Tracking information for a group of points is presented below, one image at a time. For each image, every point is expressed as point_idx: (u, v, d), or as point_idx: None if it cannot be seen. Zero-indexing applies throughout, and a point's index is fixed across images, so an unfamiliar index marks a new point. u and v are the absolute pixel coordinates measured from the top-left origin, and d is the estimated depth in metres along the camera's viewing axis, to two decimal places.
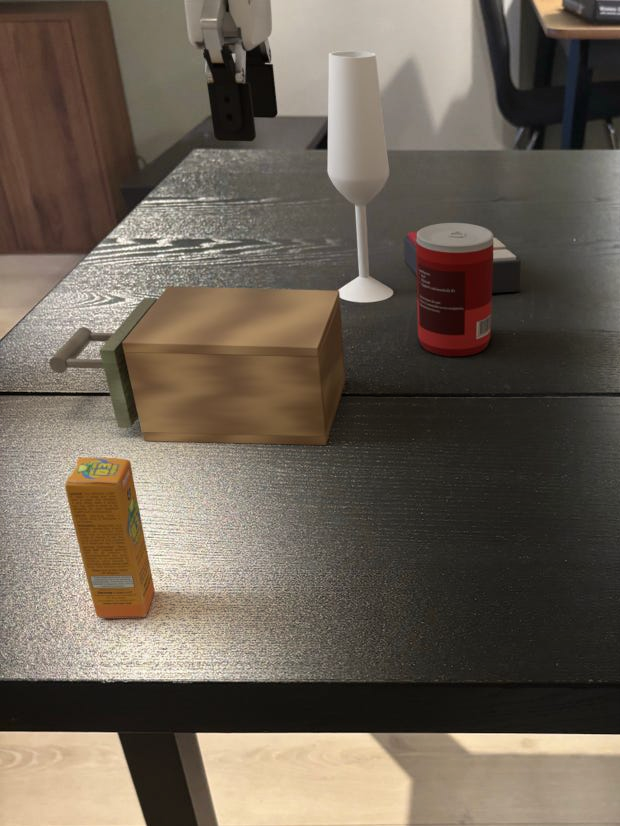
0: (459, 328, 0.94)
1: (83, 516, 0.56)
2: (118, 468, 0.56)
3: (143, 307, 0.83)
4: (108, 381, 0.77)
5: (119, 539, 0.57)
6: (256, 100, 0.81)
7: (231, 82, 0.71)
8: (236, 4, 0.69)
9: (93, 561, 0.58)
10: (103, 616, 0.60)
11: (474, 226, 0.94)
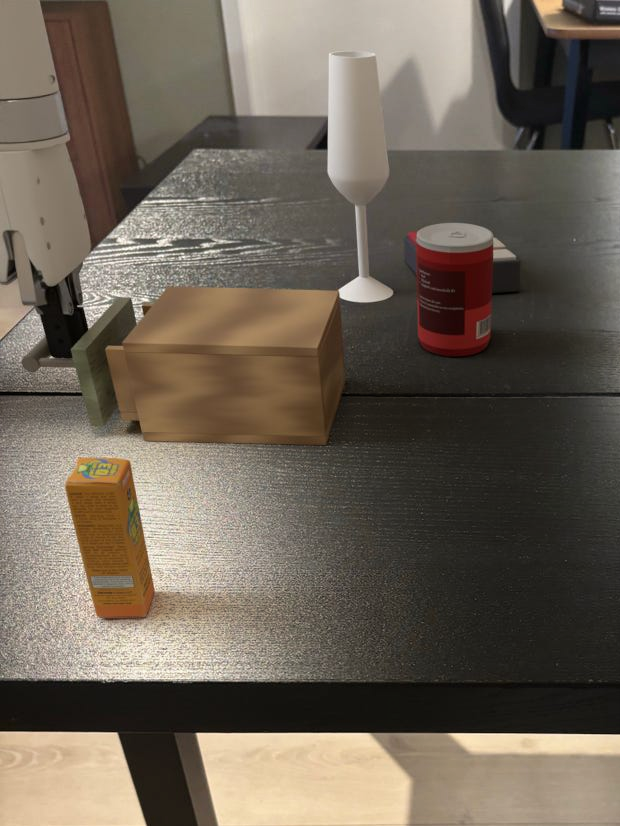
0: (459, 328, 0.94)
1: (83, 516, 0.56)
2: (118, 468, 0.56)
3: (117, 306, 0.83)
4: (80, 380, 0.77)
5: (119, 539, 0.57)
6: None
7: (59, 314, 0.78)
8: (34, 251, 0.72)
9: (93, 561, 0.58)
10: (103, 616, 0.60)
11: (474, 226, 0.94)
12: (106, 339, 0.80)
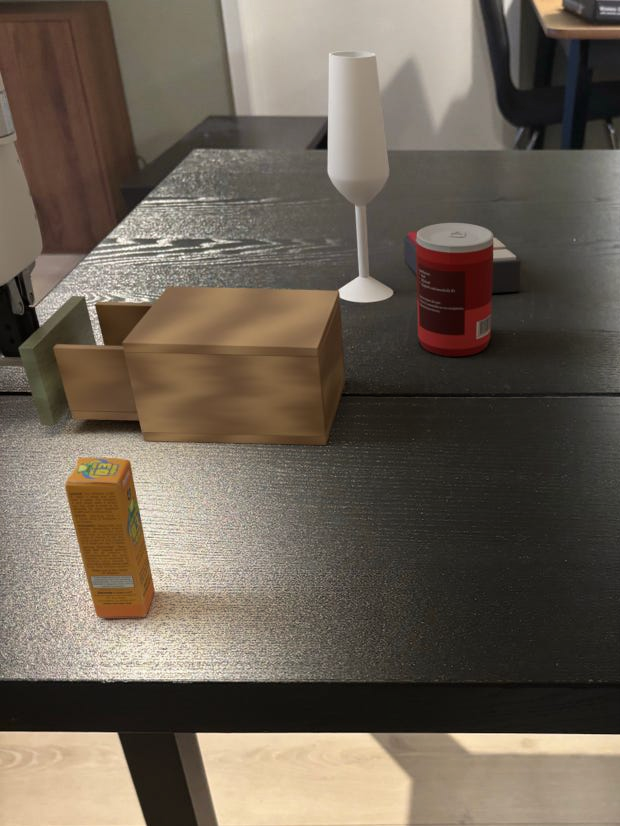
0: (459, 328, 0.94)
1: (83, 516, 0.56)
2: (118, 468, 0.56)
3: (70, 305, 0.83)
4: (29, 379, 0.77)
5: (119, 539, 0.57)
6: None
7: (9, 314, 0.78)
8: None
9: (93, 561, 0.58)
10: (103, 616, 0.60)
11: (474, 226, 0.94)
12: (56, 338, 0.80)
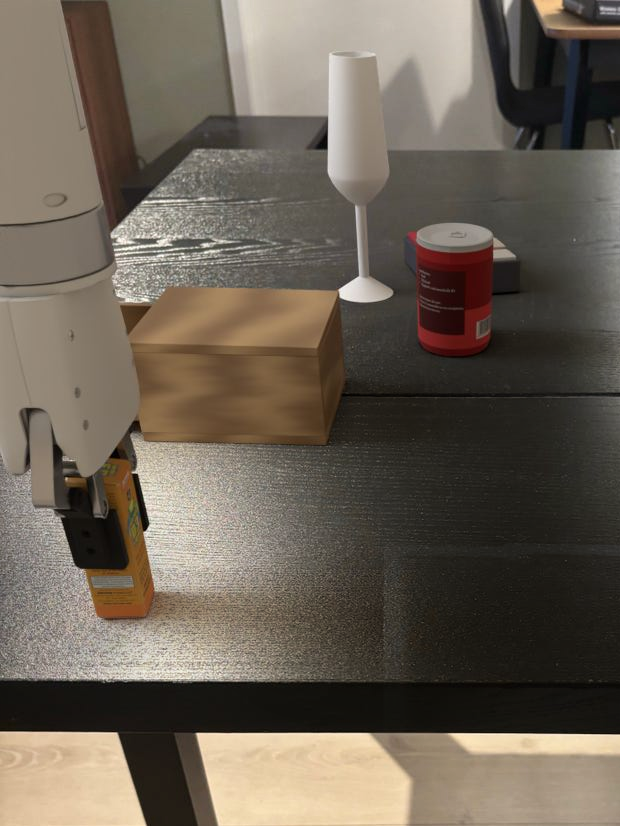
0: (459, 328, 0.94)
1: None
2: (118, 469, 0.56)
3: None
4: None
5: None
6: None
7: (89, 518, 0.54)
8: (66, 435, 0.49)
9: None
10: (103, 616, 0.60)
11: (474, 226, 0.94)
12: None
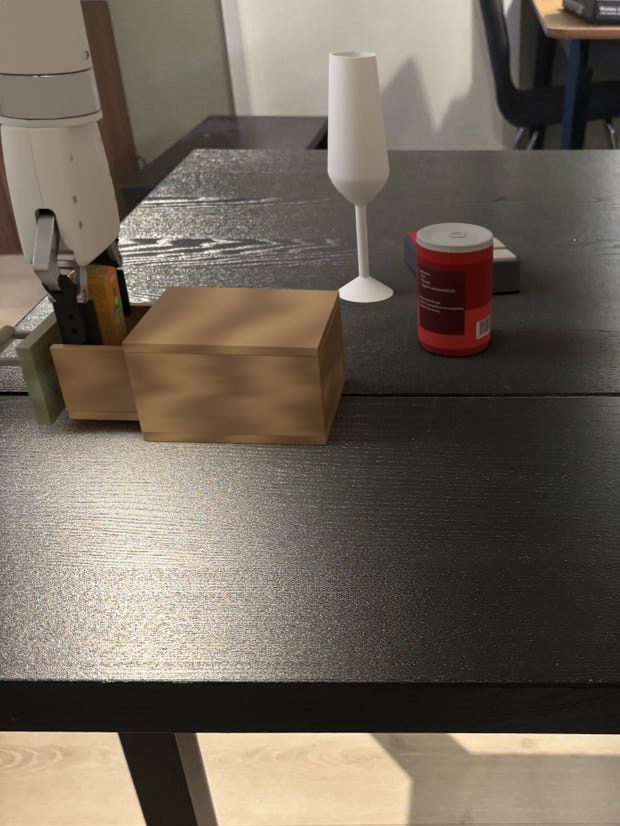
0: (459, 328, 0.94)
1: None
2: (107, 270, 0.78)
3: None
4: (25, 379, 0.77)
5: (108, 324, 0.79)
6: None
7: (73, 303, 0.74)
8: (66, 230, 0.71)
9: None
10: None
11: (474, 226, 0.94)
12: (53, 338, 0.80)
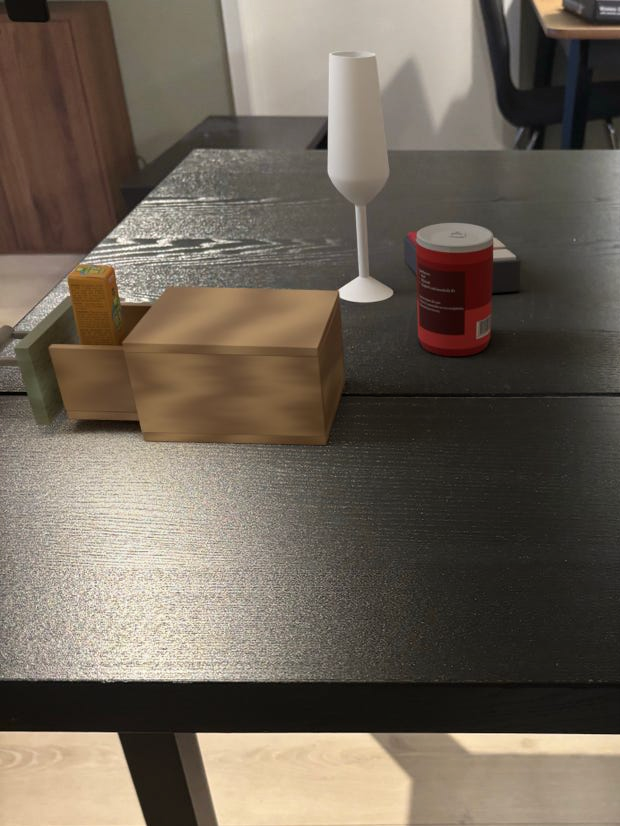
0: (459, 328, 0.94)
1: (80, 303, 0.78)
2: (105, 270, 0.78)
3: (65, 305, 0.83)
4: (24, 379, 0.77)
5: (106, 324, 0.79)
6: (23, 2, 0.74)
7: None
8: None
9: (88, 342, 0.80)
10: None
11: (474, 226, 0.94)
12: (52, 338, 0.80)
